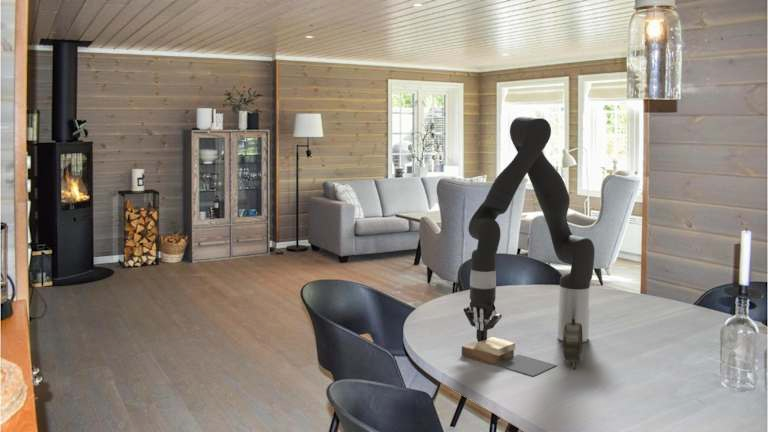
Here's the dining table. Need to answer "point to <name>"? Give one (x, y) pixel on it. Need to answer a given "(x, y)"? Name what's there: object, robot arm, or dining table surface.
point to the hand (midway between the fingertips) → (481, 341)
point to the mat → (525, 365)
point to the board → (483, 354)
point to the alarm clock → (572, 342)
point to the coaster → (495, 346)
